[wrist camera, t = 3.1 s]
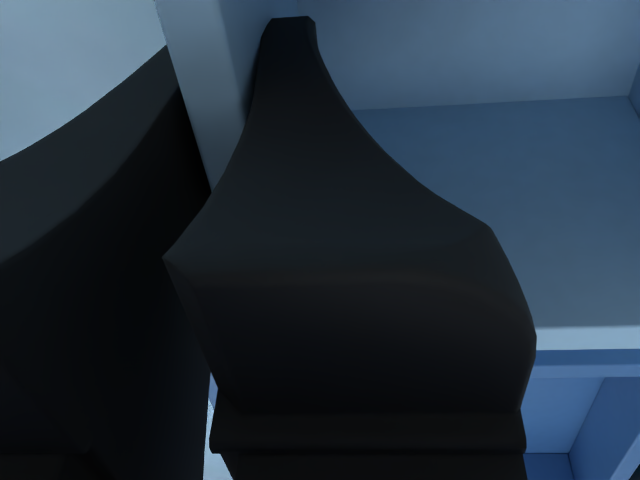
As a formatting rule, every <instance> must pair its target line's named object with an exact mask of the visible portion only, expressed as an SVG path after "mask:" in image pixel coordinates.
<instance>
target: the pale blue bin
mask: <svg viewBox="0 0 640 480" xmlns="http://www.w3.org/2000/svg"><path fill="white" fill-rule="evenodd" d="M154 3H155V6H156V10H157V13H158V16H159V20H160V23H161V26H162V30H163V33H164V36H165V40H166V43H167V46H168V49H169V53H170V56H171V59H172V63H173V66H174V69H175V73H176V76H177V79H178V83H179V86H180V89H181V92H182V96H183V99H184V102H185V106H186V109H187V112H188V116H189V119H190V122H191V126H192V129H193V132H194V135H195V139H196V142H197V145H198V149H199V152H200V155H201V159H202V162H203V165H204V169H205V172H206V175H207V179H208V182H209V185H210V188H211V192H212V191H213V190H214V188H215V186H216V185H217V183H218V181H219V180H220V178H221V176H222V175H223V173H224V171H225V169H226V167H227V165H228V163H229V161H230V159H231V156H232V154H233V152H234V150H235V148H236V146H237V144H238V141H239V139H240V136H241V134H242V131H243V129H244V126H245V123H246V121H247V118H248V115H249V113H250V110H251V106H252V101H253V97H254V89H255V81H256V73H257V64H258V56H259V48H260V40H261V36H262V34H263V32H264V30H265V28H266V26H267V24H268V23H269V21H270V20H271V19H272V18H282V17H296V16H309V17H310V18H311V19H312V20H313V21H315V23H316V33H317V42H318V48H319V51H320V54H321V57H322V59H323V61H324V64H325V66H326V68H327V70H328V72H329V74H330V76H331V78H332V80H333V82H334V84H335V86H336V87H337V89H338V91H339V92H340V94H341V96H342V97H343V99H344V100H345V102H346V104H347V105H348V107H349V108H350V110H351V111H352V112H353V114H354V115H355V117H356V118H357V119H358V121H359V122H360V123H361V124H362V126H363V127H364V128H365V129H366V130H367V132H368V133H369V134H370V135H371V136H372V138H373V139H374V140H375V141H376V142H377V143H378V144H379V145H380V146H381V147H382V148H383V150H384V151H385V152H386V153H387V154H388V155H390V156H391V157H392V158H393V159H394V160H395V161H396V162H397V163H398V164H400V165H401V166H402V167H403V168H404V169H405V170H406V171H407V172H408V173H410V174H411V175H412V176H413V177H414V178H415V179H416V180H417V181H419V182H420V183H421V184H423V185H424V186H425V187H427V188H428V189H429V190H431V191H432V192H434V193H435V194H437V195H438V196H440V197H441V198H443V199H445V200H446V201H448V202H450V203H452V204H453V205H455V206H457V207H458V208H460V209H462V210H463V211H465V212H467V213H469V214H470V215H472V216H474V217H475V218H477V219H479V220H480V221H482V222H484V223H486V224H487V225H488V226H489V227H490V228H491V229H492V230H493V232H494V234H495V236H496V237H497V239H498V241H499V243H500V245H501V247H502V248H503V250H504V252H505V254H506V256H507V258H508V260H509V262H510V264H511V266H512V268H513V270H514V273H515V275H516V277H517V279H518V281H519V284H520V286H521V289H522V291H523V294H524V296H525V299H526V301H527V304H528V307H529V309H530V312H531V315H532V318H533V323H534V327H535V331H536V335H537V345H536V350H580V349H640V0H154Z"/></svg>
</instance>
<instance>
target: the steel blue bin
mask: <svg viewBox="0 0 640 480" xmlns="http://www.w3.org/2000/svg"><path fill="white" fill-rule="evenodd" d="M217 391H218V387H217V385H216V383H215V380H214V378H213V376H212V373H211V376H210V386H209V400H210V402H211V404H212V406H213V409H214V408H215V403H216V397H217ZM520 409H521V414H522V419H523V424H524V429H525V434H526V441H527V449H526V451H525V454H523V458H524V463H525V468H526V473H527V479H528V480H628V479H629V478H630V477H631V475H632V474H633V472H634V471H635V469H636V468H637V467H638V465H639V464H640V349H580V350H536V359H535V362H534V365H533V368H532V372H531V375H530V378H529V382H528V385H527V388H526V392H525V395H524V398H523V401H522V405H521V408H520Z"/></svg>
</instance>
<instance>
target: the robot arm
mask: <svg viewBox="0 0 640 480" xmlns="http://www.w3.org/2000/svg"><path fill="white" fill-rule="evenodd" d="M536 345H537V335H536V331H535V327H534V323H533V318H532V315H531V312H530V309H529V307H528V304H527V301H526V299H525V296H524V294H523V291H522V289H521V286H520V284H519V281H518V279H517V277H516V275H515V273H514V270H513V268H512V266H511V264H510V262H509V260H508V258H507V256H506V254H505V252H504V250H503V248H502V247H501V245H500V243H499V241H498V239H497V237H496V236H495V234H494V232H493V230H492V229H491V228H490V227H489V226H488V225H487V224H486V223H484V222H482V221H480V220H479V219H477V218H475V217H474V216H472V215H470V214H469V213H467V212H465V211H463V210H462V209H460V208H458V207H457V206H455V205H453V204H452V203H450V202H448V201H446V200H445V199H443V198H441V197H440V196H438V195H437V194H435V193H434V192H432V191H431V190H429V189H428V188H427V187H425V186H424V185H423V184H421V183H420V182H419V181H417V180H416V179H415V178H414V177H413V176H412V175H411V174H410V173H408V172H407V171H406V170H405V169H404V168H403V167H402V166H401V165H400V164H398V163H397V162H396V161H395V160H394V159H393V158H392V157H391V156H390V155H388V154H387V153H386V152H385V151H384V150H383V148H382V147H381V146H380V145H379V144H378V143H377V142H376V141H375V140H374V139H373V138H372V136H371V135H370V134H369V133H368V132H367V130H366V129H365V128H364V127H363V126H362V124H361V123H360V122H359V121H358V119H357V118H356V117H355V115H354V114H353V112H352V111H351V110H350V108H349V107H348V105H347V104H346V102H345V100H344V99H343V97H342V96H341V94H340V92H339V91H338V89H337V87H336V86H335V84H334V82H333V80H332V78H331V76H330V74H329V72H328V70H327V68H326V66H325V64H324V61H323V59H322V57H321V54H320V51H319V48H318V42H317V33H316V23H315V21H313V20H312V19H311V18H310V17H309V16H296V17H282V18H272V19H271V20H270V21H269V23H268V24H267V26H266V28H265V30H264V32H263V34H262V36H261V40H260V48H259V56H258V64H257V73H256V81H255V89H254V97H253V101H252V106H251V110H250V113H249V115H248V118H247V121H246V123H245V126H244V129H243V131H242V134H241V136H240V139H239V141H238V144H237V146H236V148H235V150H234V152H233V154H232V156H231V159H230V161H229V163H228V165H227V167H226V169H225V171H224V173H223V175H222V176H221V178H220V180H219V181H218V183H217V185H216V186H215V188H214V190H213V191H212V192H211V188H210V185H209V182H208V179H207V175H206V172H205V169H204V165H203V162H202V159H201V155H200V152H199V149H198V145H197V142H196V139H195V135H194V132H193V129H192V126H191V122H190V119H189V116H188V112H187V109H186V106H185V102H184V99H183V96H182V92H181V89H180V86H179V83H178V79H177V76H176V73H175V69H174V66H173V63H172V59H171V56H170V53H169V49H168V46H167V45H165V46H164V47H163V48H162V49H161V50H160V51H158V52H157V53H156V54H155V55H154V56H153V57H151V58H150V59H149V60H148V61H147V62H146V63H144V64H143V65H142V66H141V67H140V68H139V69H137V70H136V71H135V72H134V73H133V74H132V75H130V76H129V77H128V78H127V79H126V80H124V81H123V82H122V83H120V84H119V85H118V86H117V87H115V88H114V89H113V90H111V91H110V92H109V93H107V94H106V95H105V96H103V97H102V98H101V99H100V100H98V101H97V102H96V103H94V104H93V105H92V106H90V107H89V108H88V109H87V110H85V111H84V112H82V113H81V114H80V115H78V116H77V117H75V118H74V119H72V120H71V121H69V122H68V123H66V124H65V125H63V126H62V127H60V128H59V129H57V130H55V131H54V132H52V133H51V134H49V135H47V136H46V137H44V138H42V139H41V140H39V141H37V142H36V143H34V144H33V145H31V146H29V147H27V148H26V149H24V150H22V151H20V152H18V153H16V154H14V155H12V156H10V157H8V158H6V159H4V160H2V161H0V480H203V470H204V451H205V438H206V424H207V411H208V398H209V386H210V376H211V373H212V376H213V378H214V380H215V383H216V385H217V387H218V391H217V397H216V403H215V408H214V414H213V420H212V426H211V431H210V437H209V448H210V450H211V452H212V454H221V456H222V458H223V460H224V462H225V464H226V466H227V468H228V470H229V472H230V474H231V476H232V478H233V480H528V479H527V473H526V468H525V463H524V458H523V454H525V451H526V449H527V441H526V434H525V429H524V424H523V419H522V414H521V409H520V408H521V405H522V401H523V398H524V395H525V392H526V388H527V385H528V382H529V378H530V375H531V372H532V368H533V365H534V362H535V359H536Z"/></svg>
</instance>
